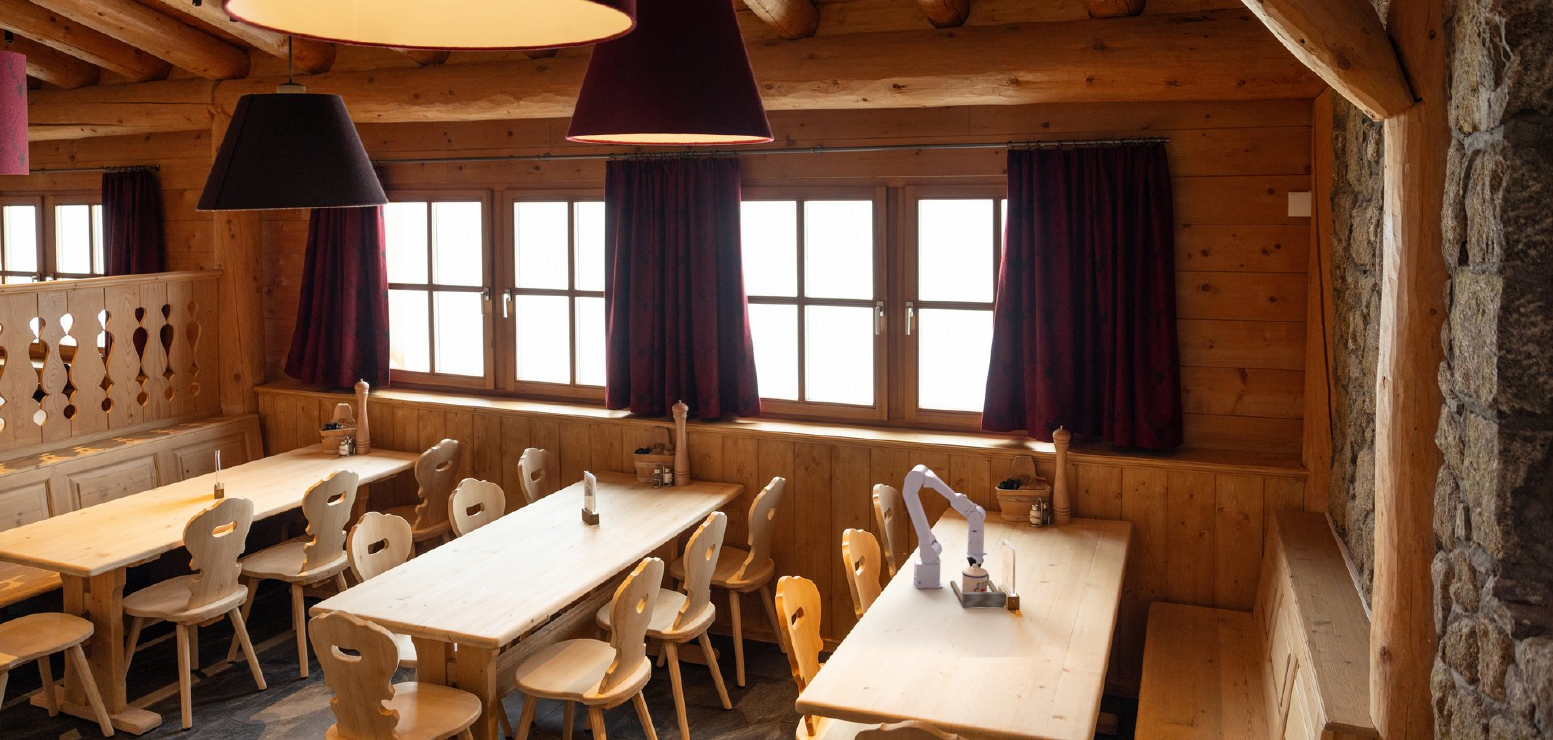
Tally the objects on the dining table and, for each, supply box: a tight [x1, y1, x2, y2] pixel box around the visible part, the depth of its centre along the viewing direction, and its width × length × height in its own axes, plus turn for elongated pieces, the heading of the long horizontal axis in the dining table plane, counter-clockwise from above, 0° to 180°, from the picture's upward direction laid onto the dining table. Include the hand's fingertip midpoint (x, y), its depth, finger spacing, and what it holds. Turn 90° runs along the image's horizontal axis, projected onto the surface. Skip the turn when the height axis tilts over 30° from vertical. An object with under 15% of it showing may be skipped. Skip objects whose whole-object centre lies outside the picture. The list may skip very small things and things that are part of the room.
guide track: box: [949, 579, 1007, 609], centre depth 423 cm, size 15×24×5 cm, turn 2°
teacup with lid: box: [961, 564, 990, 593], centre depth 423 cm, size 12×9×12 cm
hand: (974, 576), depth 428 cm, fingers closed
